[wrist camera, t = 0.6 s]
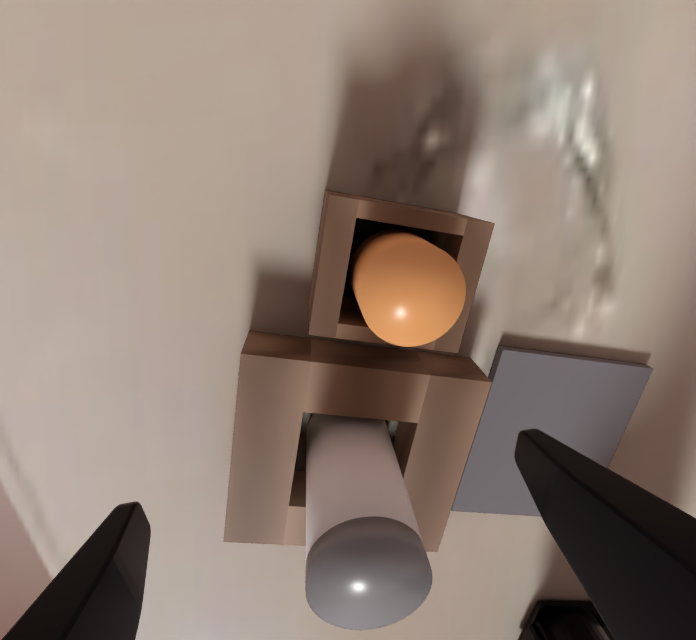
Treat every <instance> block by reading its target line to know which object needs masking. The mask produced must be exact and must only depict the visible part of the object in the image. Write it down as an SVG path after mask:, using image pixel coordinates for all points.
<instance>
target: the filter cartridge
mask: <svg viewBox="0 0 696 640" xmlns="http://www.w3.org/2000/svg"><path fill="white" fill-rule="evenodd" d="M431 585H432V570H431V567H430V564H429V560H428V557H427V554H426V551H425V548H424V544H423V541H422V538H421V535H420V531H419V528H418V525H417V522H416V519H415V515H414V512H413V509H412V506H411V503H410V499H409V496H408V493H407V490H406V487H405V483H404V480H403V477H402V474H401V470H400V467H399V464H398V461H397V458H396V454H395V451H394V448H393V445H392V442H391V438H390V435H389V432H388V429H387V426H386V422H385V420H381V419H370V418H360V417H349V416H339V415H328V414H318V413H314V414H313V415H312V417H311V419H310V420H309V423H308V426H307V432H306V598H307V601H308V604H309V606H310V608H311V609H312V610H313V612H314V613H315V614H316V615H317V616H318V617H319V618H321V619H322V620H324V621H325V622H327V623H329V624H331V625H334V626H337V627H340V628H344V629H350V630H369V629H376V628H381V627H385V626H388V625H391V624H393V623H396V622H398V621H400V620H402V619H404V618H405V617H407V616H408V615H410V614H411V613H413V612H414V611H415V610H416V609H417V608H418V607H419V606H420V605H421V604H422V603H423V601H424V600H425V599H426V597H427V595H428V593H429V591H430V589H431Z"/></svg>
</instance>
